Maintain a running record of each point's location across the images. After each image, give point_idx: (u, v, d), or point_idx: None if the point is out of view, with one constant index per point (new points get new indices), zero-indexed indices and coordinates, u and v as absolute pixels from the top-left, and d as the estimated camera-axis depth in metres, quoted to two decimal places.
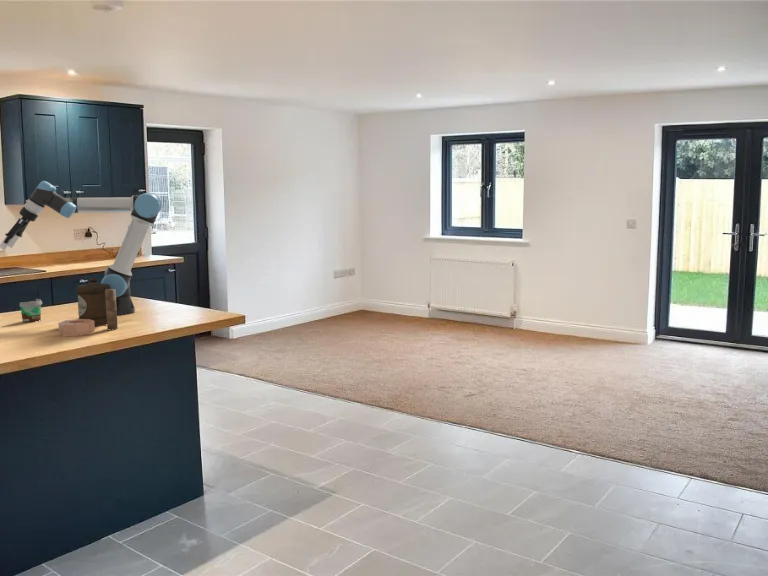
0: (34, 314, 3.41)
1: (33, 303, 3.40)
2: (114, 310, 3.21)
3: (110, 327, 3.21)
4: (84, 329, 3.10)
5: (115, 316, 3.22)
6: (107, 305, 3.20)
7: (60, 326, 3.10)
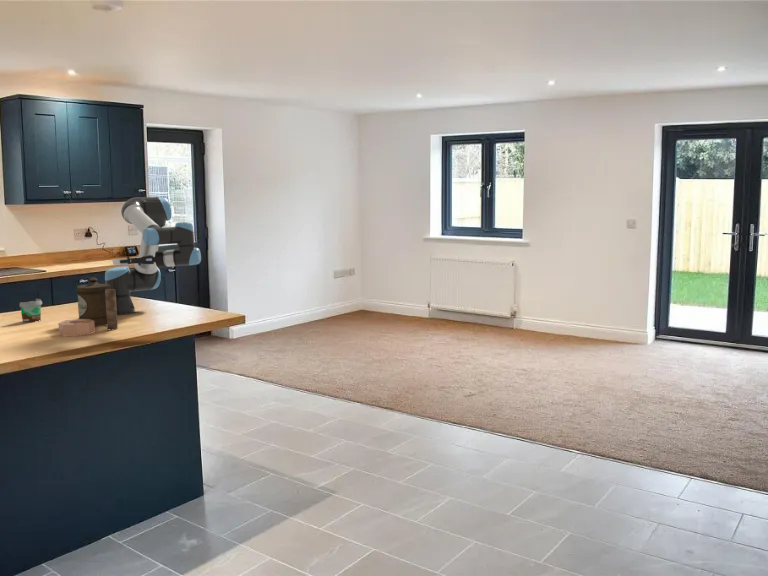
0: (34, 314, 3.41)
1: (33, 303, 3.40)
2: (114, 310, 3.21)
3: (110, 327, 3.21)
4: (84, 329, 3.10)
5: (115, 316, 3.22)
6: (107, 305, 3.20)
7: (60, 326, 3.10)
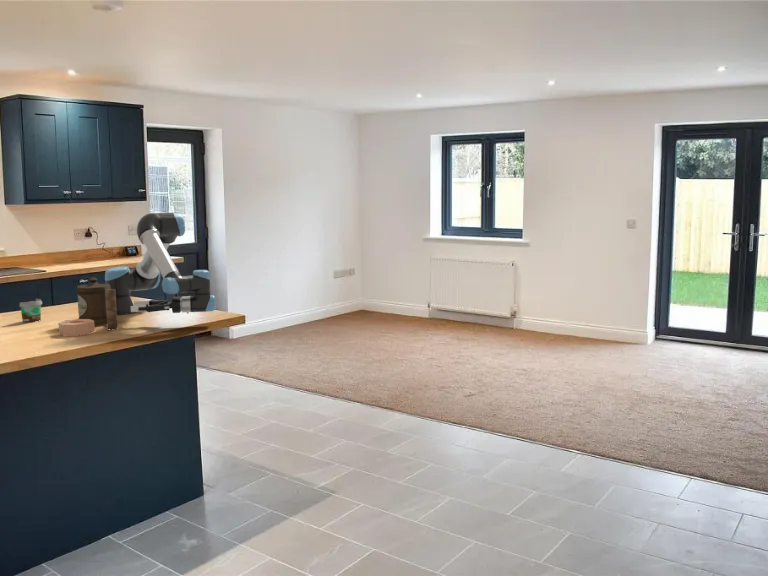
0: (34, 314, 3.41)
1: (33, 303, 3.40)
2: (114, 310, 3.21)
3: (110, 327, 3.21)
4: (84, 329, 3.10)
5: (115, 316, 3.22)
6: (107, 305, 3.20)
7: (60, 326, 3.10)
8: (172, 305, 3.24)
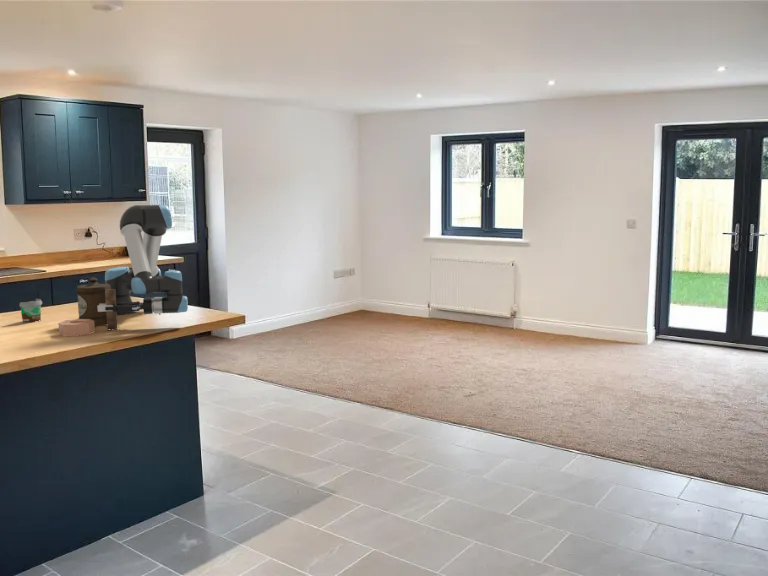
0: (34, 314, 3.41)
1: (33, 303, 3.40)
2: None
3: (110, 327, 3.21)
4: (84, 329, 3.10)
5: (115, 316, 3.22)
6: None
7: (60, 326, 3.10)
8: (143, 306, 3.22)
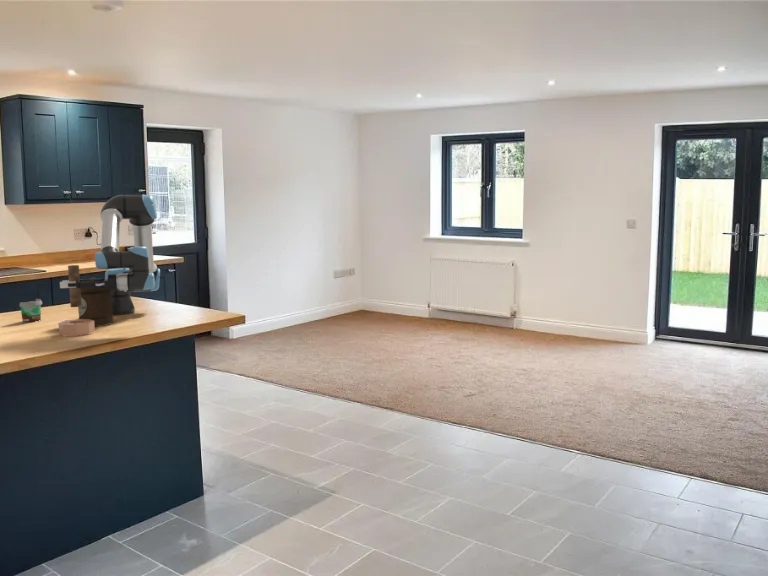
0: (34, 314, 3.41)
1: (33, 303, 3.40)
2: None
3: (73, 304, 3.11)
4: (84, 329, 3.10)
5: (78, 293, 3.12)
6: None
7: (60, 326, 3.10)
8: (108, 282, 3.11)
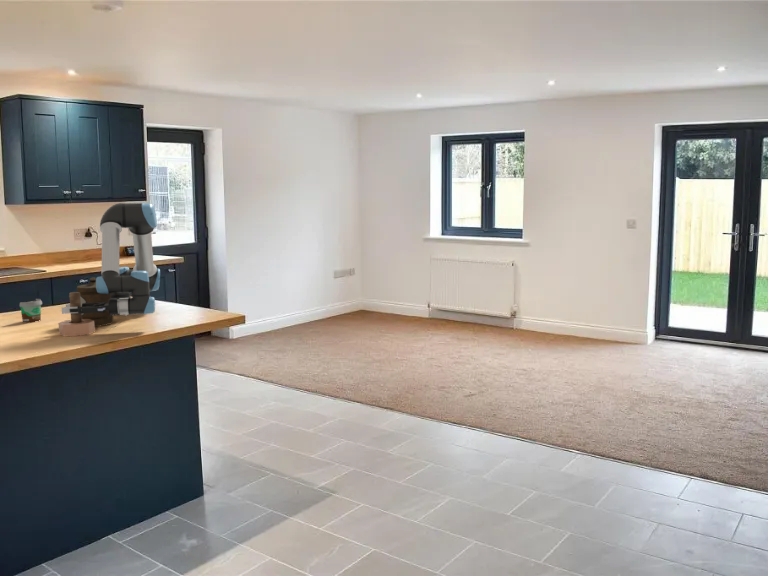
0: (34, 314, 3.41)
1: (33, 303, 3.40)
2: (79, 314, 3.13)
3: None
4: (84, 329, 3.10)
5: (80, 320, 3.13)
6: None
7: (60, 326, 3.10)
8: (109, 307, 3.13)
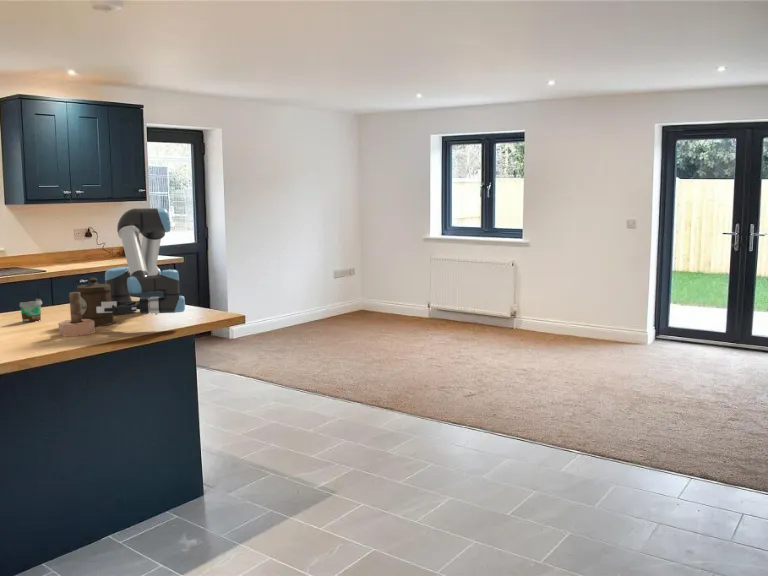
0: (34, 314, 3.41)
1: (33, 303, 3.40)
2: (79, 314, 3.13)
3: None
4: (84, 329, 3.10)
5: (80, 320, 3.13)
6: (71, 308, 3.11)
7: (60, 326, 3.10)
8: (140, 306, 3.16)
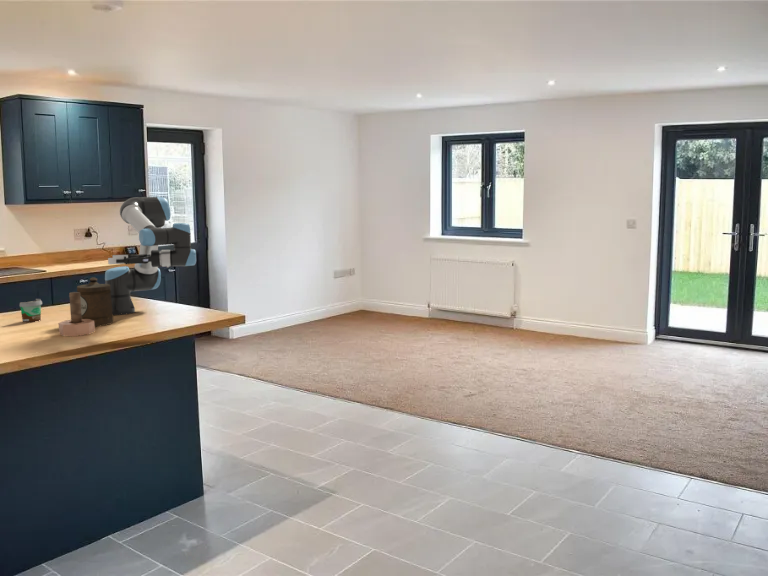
0: (34, 314, 3.41)
1: (33, 303, 3.40)
2: (79, 314, 3.13)
3: None
4: (84, 329, 3.10)
5: (80, 320, 3.13)
6: (71, 308, 3.11)
7: (60, 326, 3.10)
8: (151, 258, 3.16)
